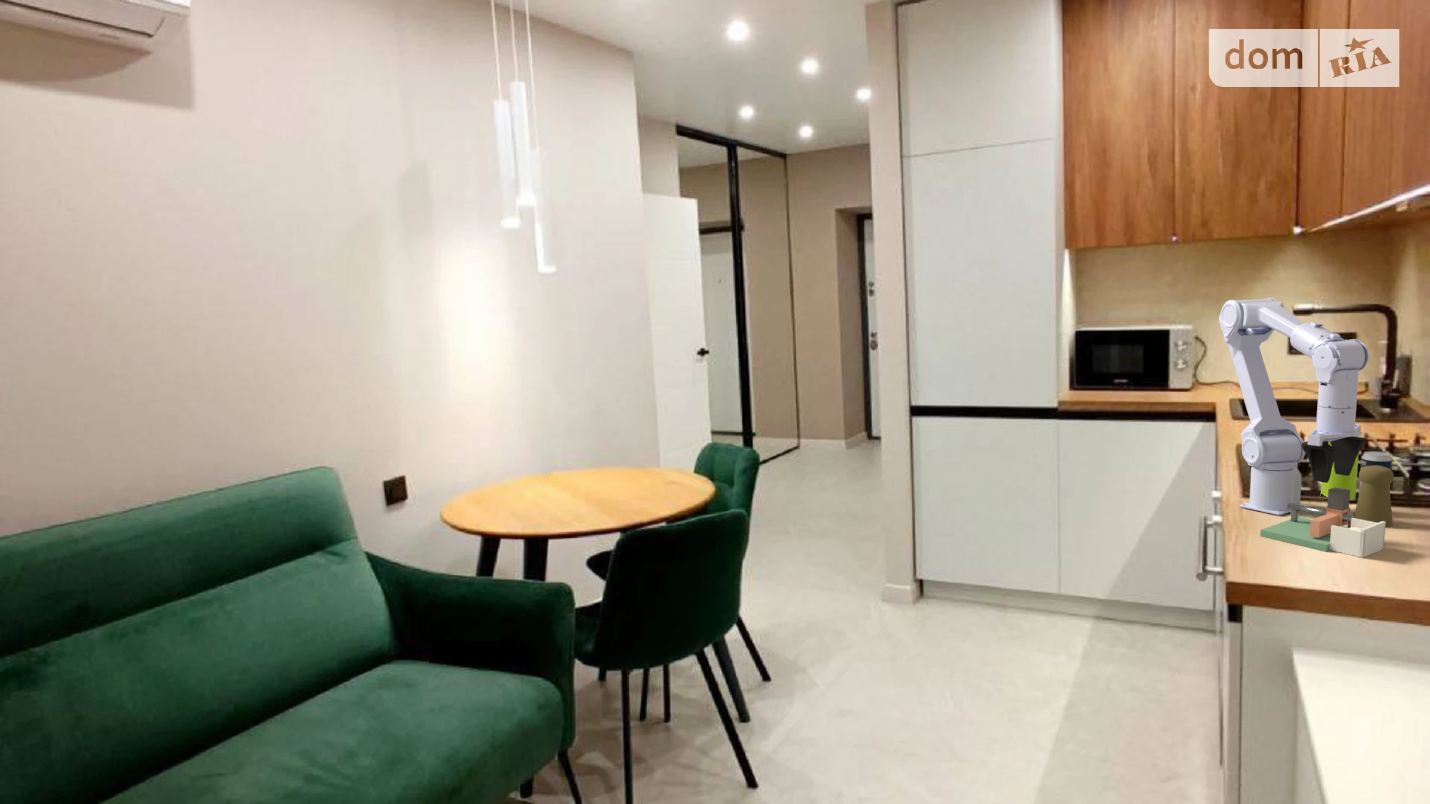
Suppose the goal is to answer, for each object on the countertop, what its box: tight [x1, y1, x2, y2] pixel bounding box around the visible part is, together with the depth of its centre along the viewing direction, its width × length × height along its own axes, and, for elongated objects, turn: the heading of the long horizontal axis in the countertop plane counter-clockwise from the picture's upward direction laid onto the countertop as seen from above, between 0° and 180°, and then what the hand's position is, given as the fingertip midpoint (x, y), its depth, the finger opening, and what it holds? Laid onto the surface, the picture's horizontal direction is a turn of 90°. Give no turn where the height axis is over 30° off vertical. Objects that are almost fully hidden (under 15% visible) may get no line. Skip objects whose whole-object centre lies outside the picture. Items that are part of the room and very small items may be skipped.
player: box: [1310, 487, 1350, 538], centre depth 151 cm, size 9×2×7 cm, turn 119°
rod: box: [1288, 503, 1357, 528], centre depth 155 cm, size 1×11×3 cm, turn 29°
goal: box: [1329, 518, 1386, 559], centre depth 146 cm, size 7×5×5 cm
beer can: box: [1358, 450, 1393, 495], centre depth 165 cm, size 5×5×12 cm
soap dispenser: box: [1320, 442, 1360, 499], centre depth 175 cm, size 6×7×20 cm
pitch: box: [1260, 516, 1348, 552], centre depth 154 cm, size 13×11×1 cm
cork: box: [1353, 466, 1395, 528], centre depth 159 cm, size 6×6×11 cm
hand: (1331, 478), depth 155 cm, fingers open, 7 cm apart
